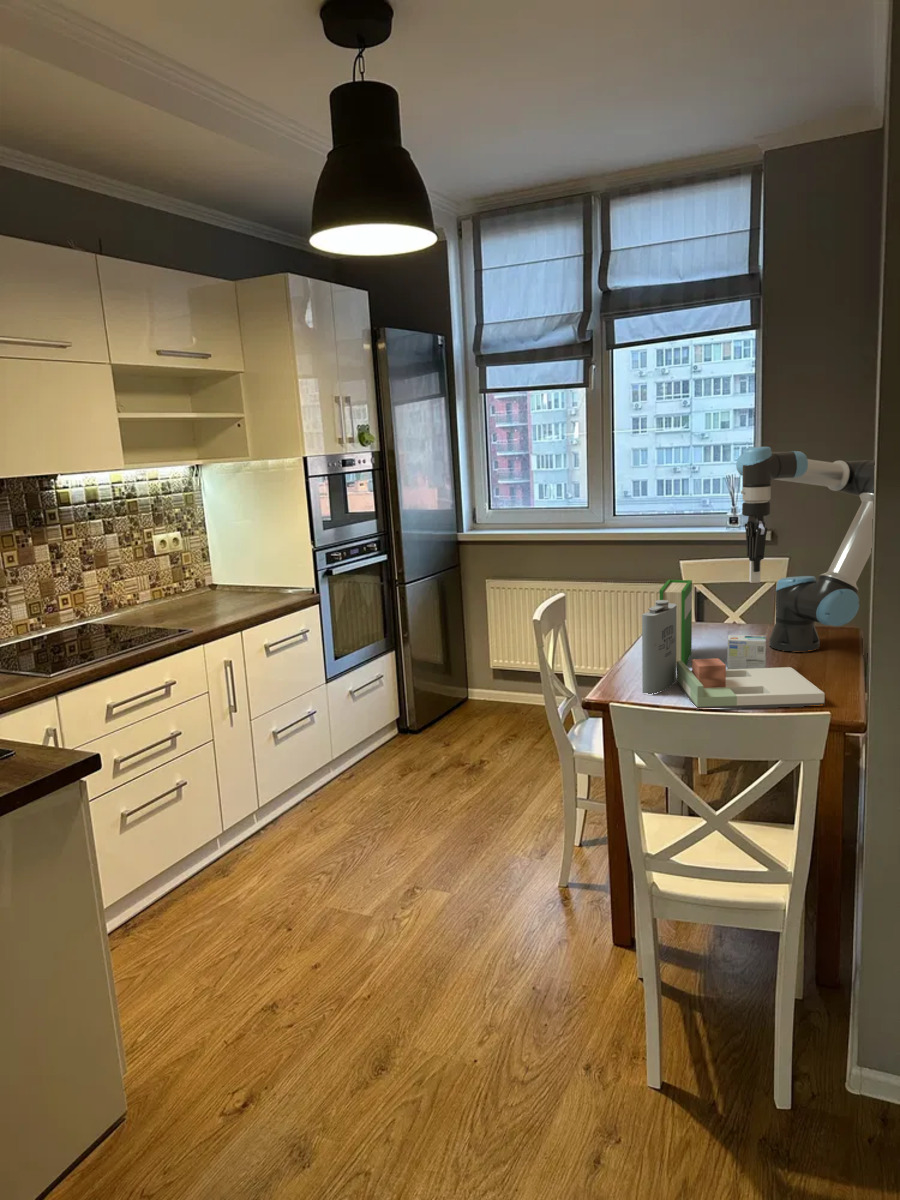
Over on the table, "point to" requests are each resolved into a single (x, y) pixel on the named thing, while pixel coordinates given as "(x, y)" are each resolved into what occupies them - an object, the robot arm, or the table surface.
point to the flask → (659, 647)
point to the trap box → (751, 689)
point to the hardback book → (681, 615)
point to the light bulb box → (746, 651)
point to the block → (709, 672)
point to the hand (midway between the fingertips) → (754, 582)
